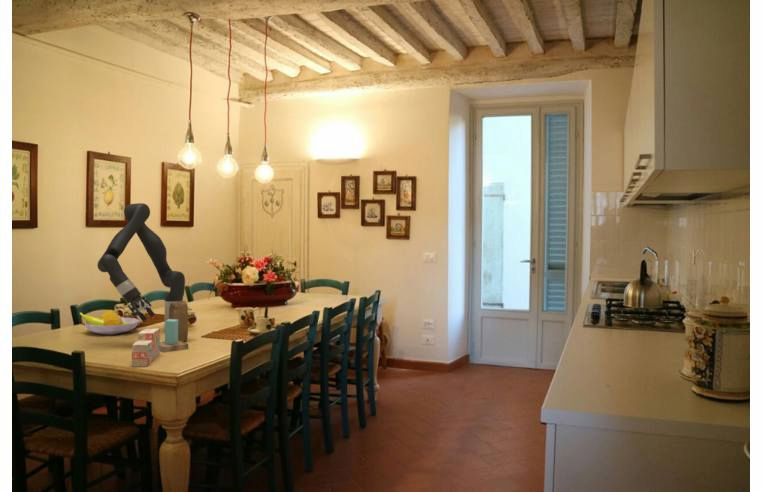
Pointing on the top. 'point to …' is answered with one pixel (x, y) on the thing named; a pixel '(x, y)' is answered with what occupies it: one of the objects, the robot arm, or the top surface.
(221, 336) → the top surface
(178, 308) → the block
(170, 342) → the post
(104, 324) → the fruit bowl
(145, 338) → the stack of blocks
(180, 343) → the slab
